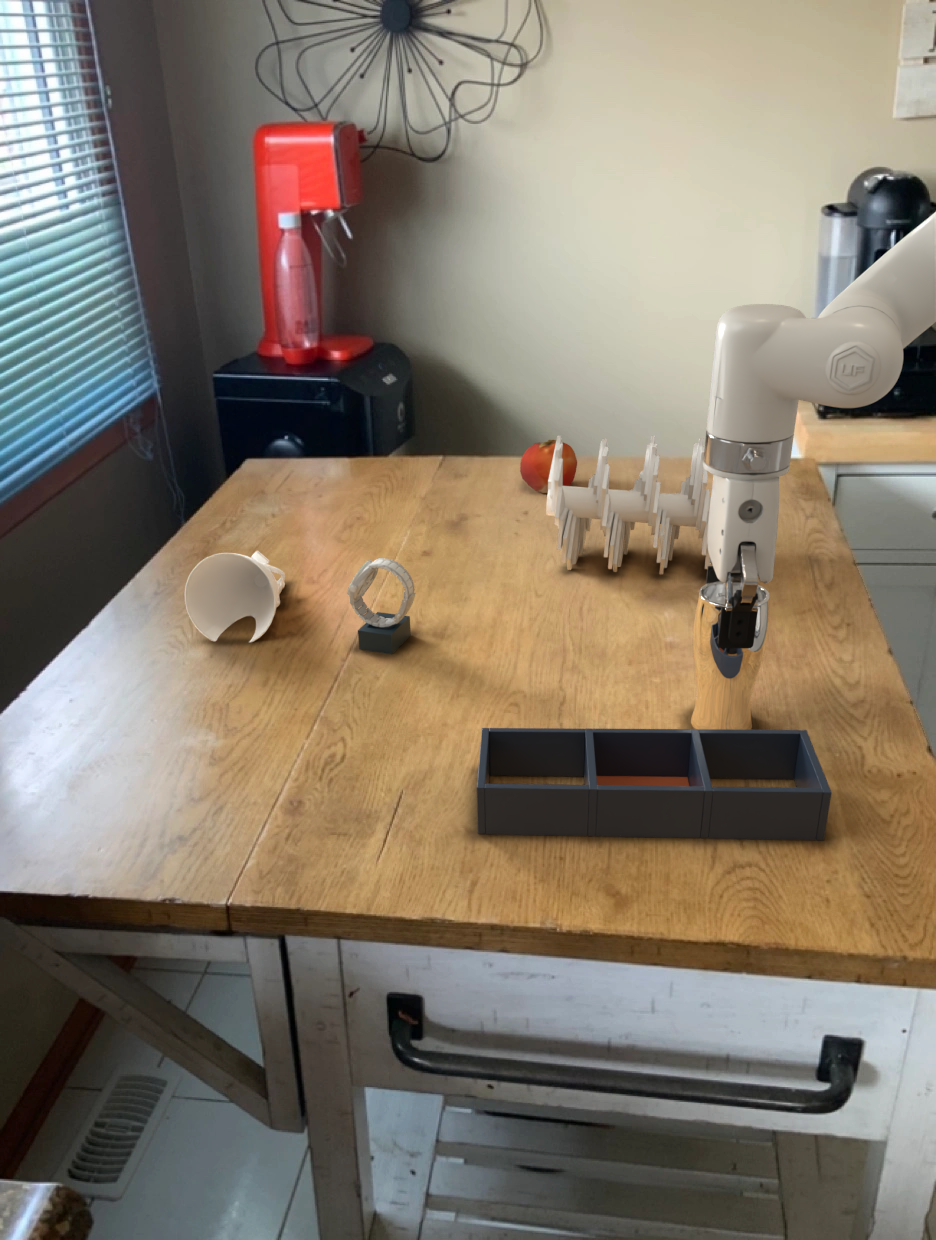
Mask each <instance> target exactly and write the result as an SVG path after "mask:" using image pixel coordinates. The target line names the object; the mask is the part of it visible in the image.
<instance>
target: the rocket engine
mask: <svg viewBox="0 0 936 1240" xmlns="http://www.w3.org/2000/svg"><path fill="white" fill-rule="evenodd" d="M270 562H271V561H270V559H269V558H267V557H266V555H264V554H263V553H262V552H261V551H259V550H256V551H254V552H253V554H252V555H251V557H250V556H248V555H245V554H241V553H237V552H236V553H235V552H219V553H213V554H212V555H210V556H207V557H204V559H202V560H201V561H199V562H198V563H197V564H196V565H195V567H193V569H192V570H191V572H190V573H189V575H188V577H187V579H186V583H185V587H184V604H185V605H184V606H185V609H186V612H187V615H188V617H189V619H190V621H191V623H192V625H194V627H195V628H196V629H197V631H198V632H199V633H200V634H201V635H202V636H203V637H205V638H206V639H208V640H209V641H211V642H217V641H218V639H219V637H220V636H221V635H222V633H224V632H225V630H227V629H228V628H229V627H230V626H232V625H233V624H235V622H237V621H239V620H241V619H243V618H246V617H252V618H254V620H255V630H254V633H253V636H252V637H251V639H250V640H248V643H253V642H256V641H257V640H258V639H260V638H261V637H262V636H263V635H264V634H265V633H267V631H268V629H269V628H270V626H271V625H272V622H273V620H274V617H275V616H276V611H277V608H278V607H279V606H280V605H281V602H282V601H281V600H280V594H281V592H282V590H284V589H285V585H286V583H285V580H286V578H287V577H286V573H285V571H283V570H282V569H280V568H278V567H276V566H274V565H271V564H269V563H270ZM274 574H276V575H280V578H279V579H278V580H277V579H276V577H275V575H274Z"/></svg>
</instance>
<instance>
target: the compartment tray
mask: <svg viewBox="0 0 936 1240" xmlns="http://www.w3.org/2000/svg"><path fill="white" fill-rule="evenodd" d="M491 776H493V777H494V776H496V777H497V776H499V777H501V776H503V777H569V778H570V777H578V778H580V777H583V783H584V784H544V783H543V784H538V783H537V784H535V783H533V784H531V783H524V784H523V783H490V780H491V779H490V777H491ZM711 779H730V780H731V779H738V780H794V784H795V785H796V787H777V786H776V787H773V786H772V787H771V786H769V787H768V786H713V785H712V780H711ZM832 793H833V792H832V790H831V787H830V785H829V782H828V780H827V777H826V775H825V773H824V770H823V768H822V765H821V763H820V760H819V757H818V755H817V753H816V750H815V748H814V745H813V743H812V740H811V738H810V735H809V733H808V730H806V729H751V730H731V729H699V730H698V729H695V728H693V729H691V728H588V727H587V728H566V727H565V728H560V727H559V728H555V727H554V728H553V727H552V728H551V727H550V728H549V727H548V728H543V727H542V728H541V727H540V728H539V727H534V728H533V727H482V728H481V735H480V745H479V756H478V768H477V780H476V812H477V813H476V814H477V815H476V817H477V818H476V819H477V835H502V836H503V835H504V836H557V837H559V836H560V837H609V838H610V837H611V838H613V837H614V838H615V837H616V838H663V839H664V838H667V839H669V838H670V839H715V840H716V839H722V840H723V839H724V840H766V841H767V840H771V841H773V840H775V841H776V840H777V841H825V836H826V830H827V824H828V817H829V813H830V812H829V811H830V805H831V798H832Z"/></svg>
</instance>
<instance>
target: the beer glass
mask: <svg viewBox="0 0 936 1240" xmlns="http://www.w3.org/2000/svg"><path fill="white" fill-rule="evenodd" d="M736 590H740V585H733V596H734V593H735V592H736ZM770 596H771V595H770V592H769V590H768V589H767V588H765V587H764V586H762V585H760V584H758V613H757V621H756V629H755V636H754V644H753V647H751V648H720V647H719V646H718V633H719V624H720V615H721V607H725V583H723V582H721V581H715V582H711V583H708V584H706V583H705V584H704V585H702V586H701V587H700V588H699V590H698V597H697V604H696V608H695V615H694V621H693V622H694V623H693V630H692V633H693V634H692V652H693V664H694V671H695V679H696V698H695V699H696V700H695V705H694V709H693V712H692V714H691V718H690V724H691V726H692V727H693V729H698V730H699V729H731V730H752V728H753V724H752V712H751V705H752V695H753V691H754V688H755V684H756V681H757V678H758V675H759V673H760V669H761V666H762V663H763V661H764V656H765V651H766V648H767V641H768V636H769V635H768V633H769V621H770V619H769V618H770V598H771V597H770Z"/></svg>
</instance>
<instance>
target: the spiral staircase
mask: <svg viewBox="0 0 936 1240" xmlns="http://www.w3.org/2000/svg"><path fill="white" fill-rule="evenodd" d="M555 440H556V445H555V450H554V455H553V459H552V464H551V469H550V474H549V479H548V493H546V494H547V495H546V507H545V510H546V511H545V514H546V516H553V517H554V524H553V525H554V526H556V528H557V545H556V550H557V551H561V564H566V568H567V571H572V569H573V565H576V564H577V562H578V559H579V555H583V553H584V548H585V543H586V539H587V532H591V528H592V527H591V526H592V520H600V525H599V528H600V529H599V530H600V531H602V532H603V537H605V538H604V539H605V540H604V552H603V558H608V565H607V569H608V570H612V572H613V573H618V568H621V567H622V563H623V556H624V555H628V551H629V546H630V545H629V544H630V539H631V531H635V527H636V523H641V524H647V526H649V527H650V526H651V531H650V536H653V544H652V545H653V546H652V548H655V549H657V555H656V564H659V572H658V574H659V575H664V571H665V569H667V568H668V562H669V561H673V553H674V547H675V540H679V536H680V529H681V527H691V528H695V531H698V539H701V555H702V556H705V560H704V570H707V569H708V566H713V565H710V562H709V559H710V555H709V552H708V544H707V539H708V521H709V510H710V501H711V489H708V488H707V485H708V475H709V472H707V471H706V470H705V469H704V468H703V459H704V449H705V445H703V444H704V438H703V437H699V439H698V443H695V442H694V443H693V450H692V457H691V464H690V473H689V476H686V477H685V480H682V481H681V485H680V492H676V493H667V492H661V483H662V482H661V481H658V476H659V467H660V458H661V455H659V454H658V455H657V450H658V443H656V435H651V436H650V443H646V451H645V456H644V463H643V470H641V471H640V473H639V475H638V479H634V486H633V488H630V490H626V489H614V488H613V489H611V488H610V486H609V485H610V467H611V465H610V464H609V450H610V448H609V444H608V438H602V439H601V440H600V445H599V449H598V450H599V452H598V458H597V464H596V469H595V473H594V474H593V475H592V476H591V477H589V479H588V486H587V487H585V486H575V485H573V486H572V485H570V486H563V459H562V450H563V444H562V442H563V439H562V435H557V436H556V439H555Z"/></svg>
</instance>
